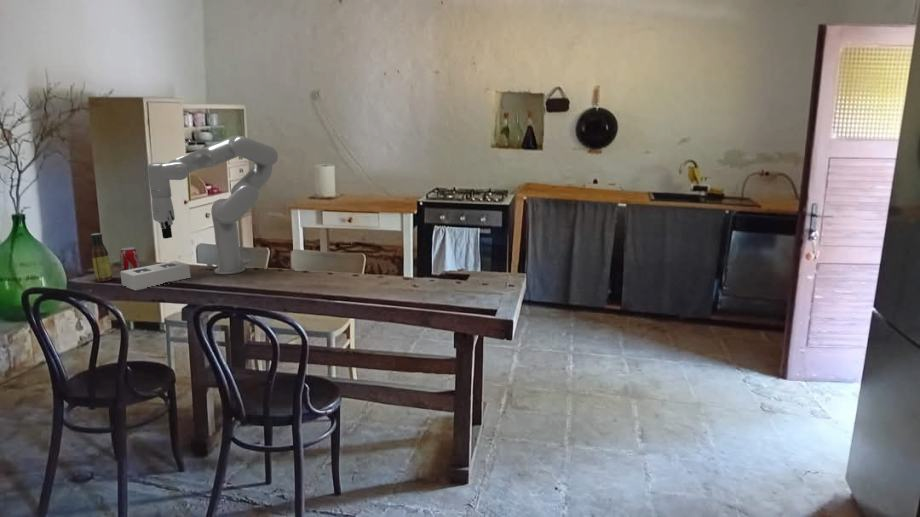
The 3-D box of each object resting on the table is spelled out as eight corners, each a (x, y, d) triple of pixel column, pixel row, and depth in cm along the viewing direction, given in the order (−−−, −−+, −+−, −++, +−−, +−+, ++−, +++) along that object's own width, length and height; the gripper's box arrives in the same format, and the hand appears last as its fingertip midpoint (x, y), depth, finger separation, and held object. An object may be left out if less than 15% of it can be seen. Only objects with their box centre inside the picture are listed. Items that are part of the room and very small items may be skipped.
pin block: (176, 274, 287) (175, 260, 285) (190, 278, 279) (189, 264, 278) (122, 285, 270) (120, 271, 268) (135, 290, 262) (133, 275, 261)
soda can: (135, 277, 282) (132, 249, 280) (119, 277, 283) (115, 250, 280) (143, 273, 289) (140, 246, 287) (127, 273, 290) (124, 246, 287)
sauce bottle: (115, 278, 281) (109, 232, 277) (106, 282, 275) (100, 235, 271) (101, 278, 282) (94, 232, 277) (92, 282, 276) (84, 235, 271)
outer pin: (146, 281, 274) (145, 268, 272) (152, 283, 270) (150, 270, 269) (134, 284, 270) (133, 270, 269) (140, 286, 267) (138, 272, 266)
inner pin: (172, 276, 282) (171, 263, 280) (178, 278, 279) (176, 265, 277) (161, 278, 278) (159, 265, 277) (167, 280, 275) (165, 267, 274)
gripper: (143, 193, 272) (150, 237, 277) (160, 196, 263) (167, 241, 267) (161, 191, 278) (168, 234, 282) (178, 193, 268) (185, 238, 272)
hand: (167, 237), depth 274 cm, fingers closed
